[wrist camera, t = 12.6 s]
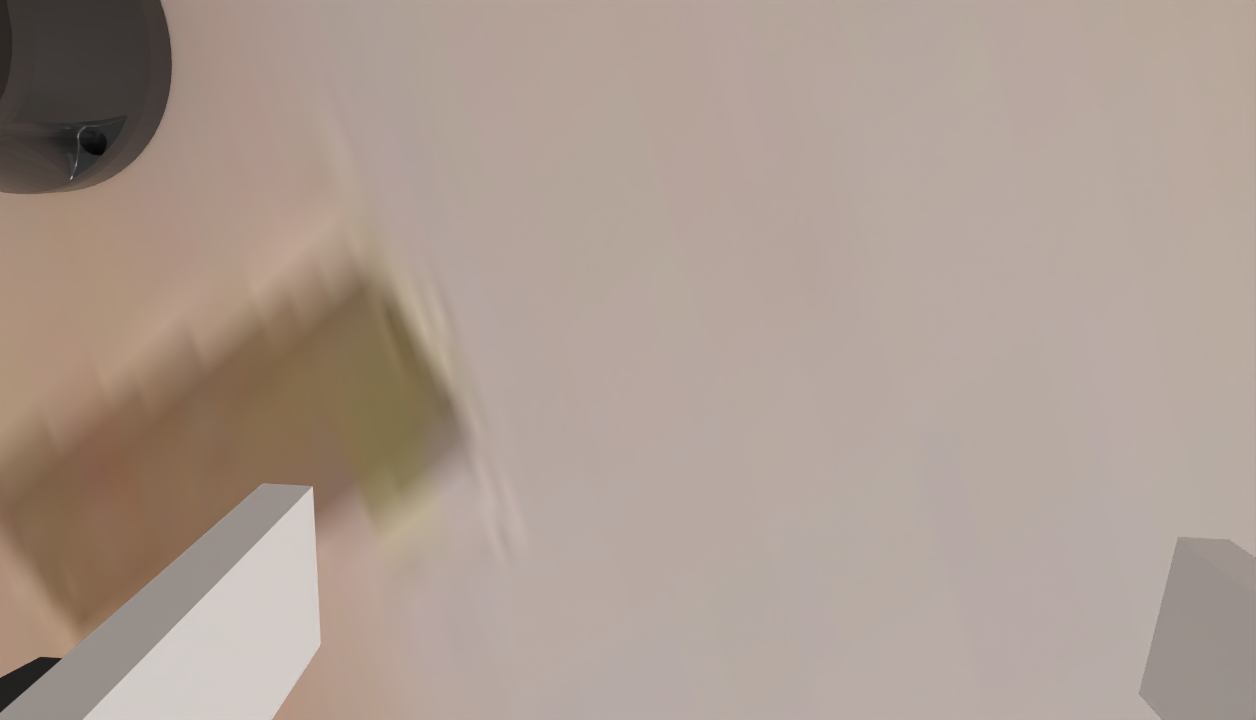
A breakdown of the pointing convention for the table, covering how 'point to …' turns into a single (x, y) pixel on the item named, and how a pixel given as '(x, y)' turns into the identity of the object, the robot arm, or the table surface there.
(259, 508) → the robot arm
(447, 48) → the table surface
